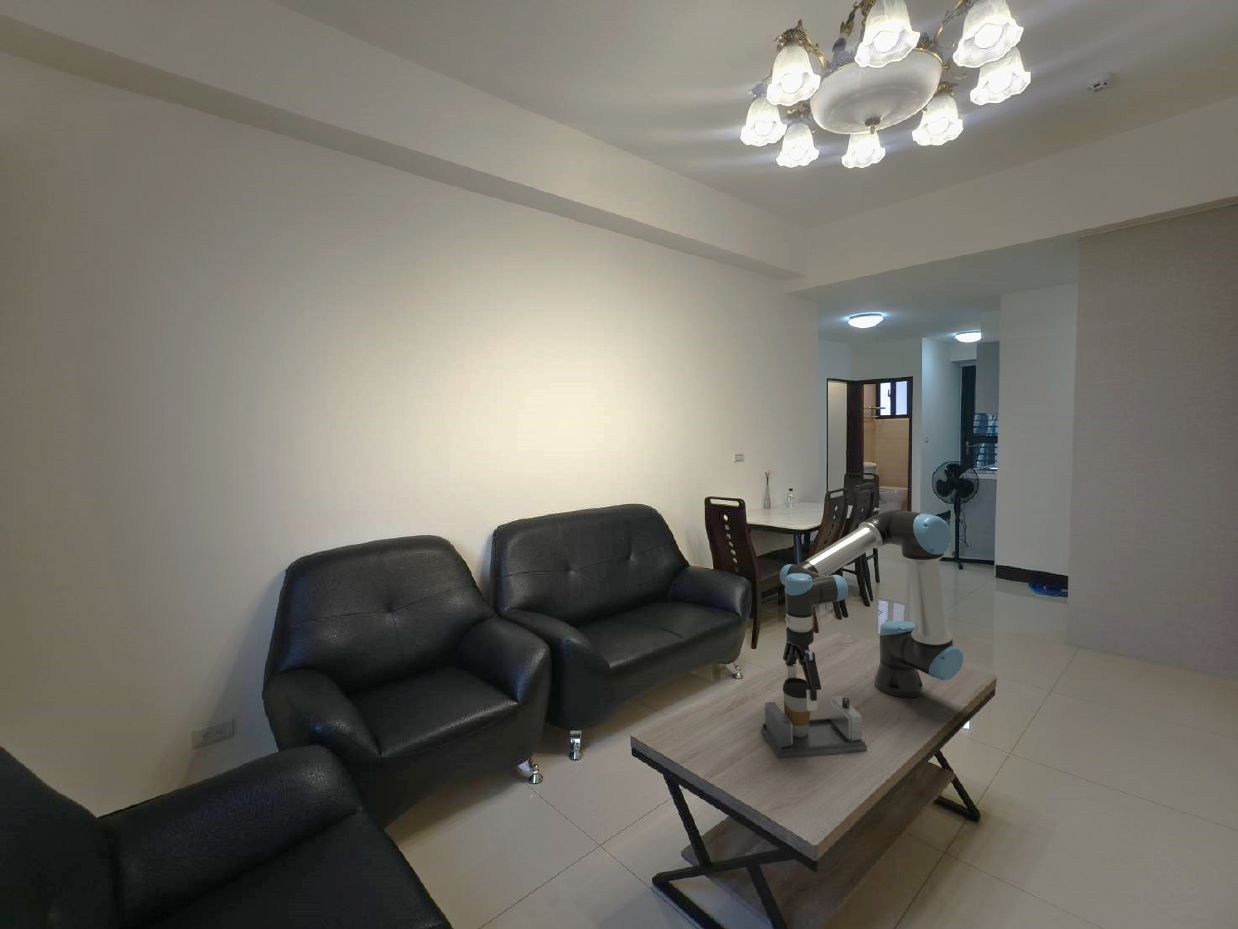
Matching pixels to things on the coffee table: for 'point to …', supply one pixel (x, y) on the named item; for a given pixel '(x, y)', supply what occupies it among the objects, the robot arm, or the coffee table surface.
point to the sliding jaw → (846, 718)
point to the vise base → (815, 742)
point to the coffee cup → (796, 705)
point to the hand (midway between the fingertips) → (801, 698)
